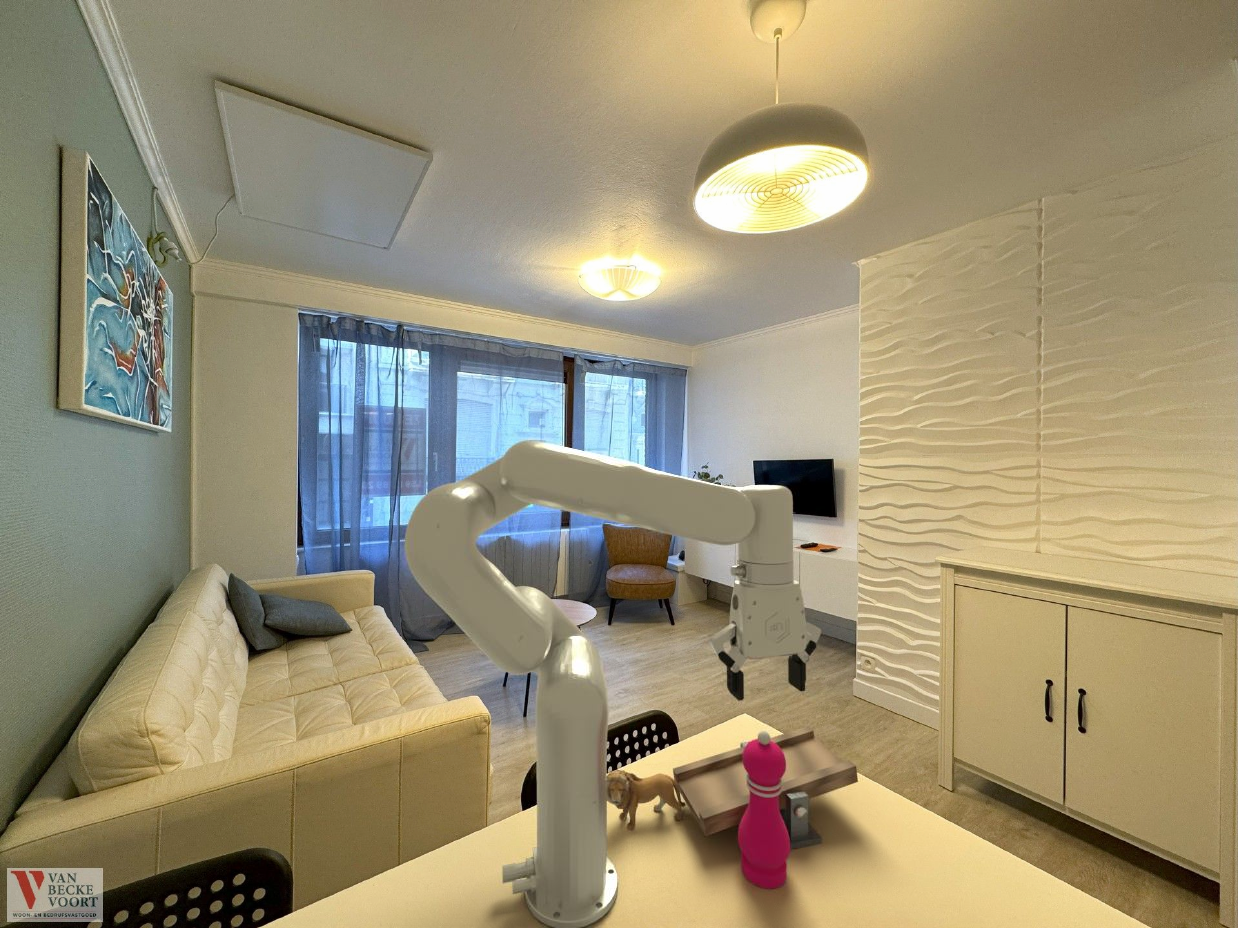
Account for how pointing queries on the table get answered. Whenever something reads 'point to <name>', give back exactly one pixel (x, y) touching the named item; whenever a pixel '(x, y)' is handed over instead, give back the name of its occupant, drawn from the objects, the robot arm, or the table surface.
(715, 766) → the balance beam
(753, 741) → the pepper mill
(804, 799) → the beam stand
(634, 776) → the lion figurine
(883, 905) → the table surface
